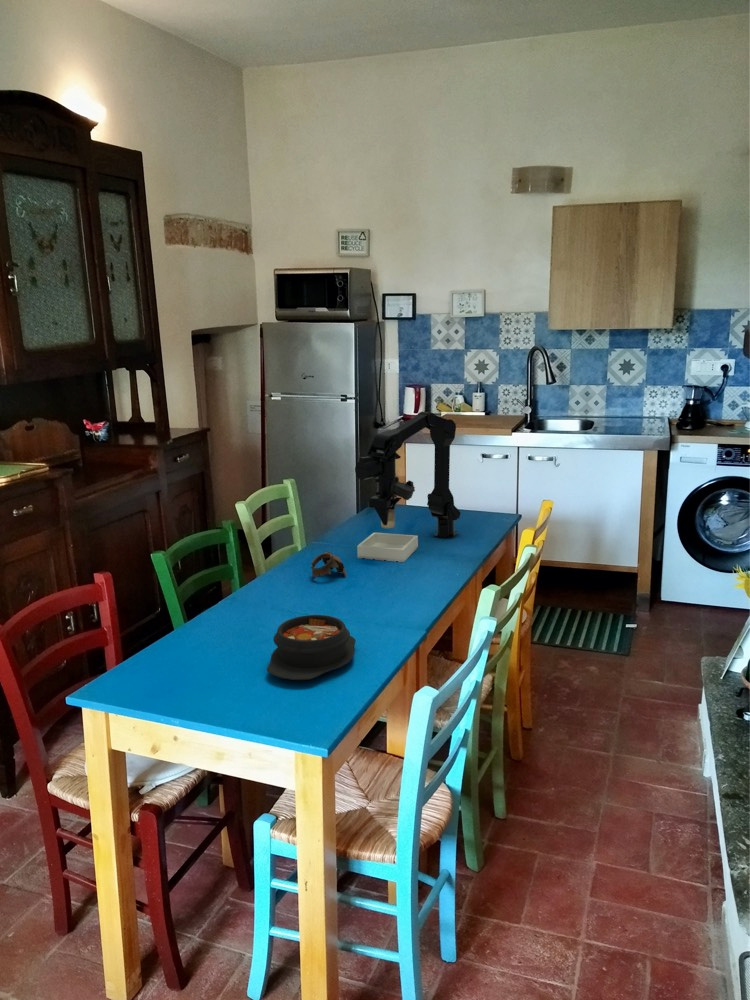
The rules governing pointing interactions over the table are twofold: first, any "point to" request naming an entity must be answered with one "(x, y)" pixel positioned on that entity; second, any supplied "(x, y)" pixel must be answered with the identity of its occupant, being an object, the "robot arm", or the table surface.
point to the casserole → (310, 647)
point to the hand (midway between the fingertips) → (387, 523)
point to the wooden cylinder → (390, 520)
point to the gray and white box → (387, 547)
